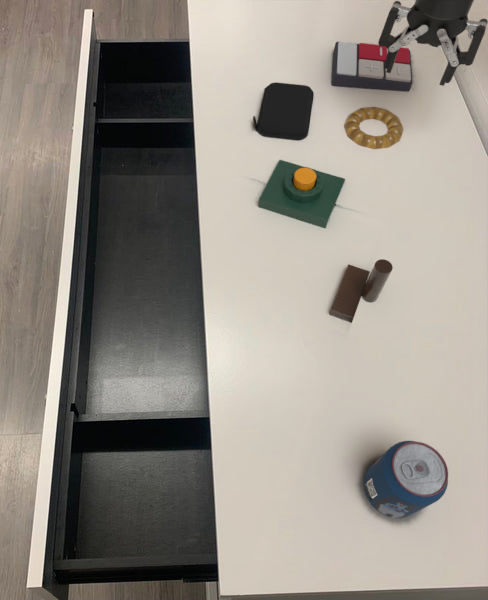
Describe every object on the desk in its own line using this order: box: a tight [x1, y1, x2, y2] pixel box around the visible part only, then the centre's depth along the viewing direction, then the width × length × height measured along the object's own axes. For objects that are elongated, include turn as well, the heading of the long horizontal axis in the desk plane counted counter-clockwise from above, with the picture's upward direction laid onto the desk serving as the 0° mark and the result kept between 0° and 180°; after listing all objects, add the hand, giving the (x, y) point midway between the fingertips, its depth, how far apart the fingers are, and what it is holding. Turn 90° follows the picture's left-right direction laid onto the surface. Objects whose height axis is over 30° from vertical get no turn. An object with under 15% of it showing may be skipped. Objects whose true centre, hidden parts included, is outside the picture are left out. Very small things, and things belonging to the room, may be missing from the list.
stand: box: [328, 258, 394, 324], centre depth 77 cm, size 9×9×10 cm
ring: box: [343, 106, 404, 150], centre depth 98 cm, size 10×10×3 cm
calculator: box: [330, 40, 413, 93], centre depth 106 cm, size 11×4×15 cm
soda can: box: [363, 440, 449, 519], centre depth 62 cm, size 7×7×12 cm
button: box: [293, 167, 316, 191], centre depth 88 cm, size 4×4×2 cm
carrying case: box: [252, 82, 315, 141], centre depth 101 cm, size 11×3×15 cm
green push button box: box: [257, 159, 346, 229], centre depth 90 cm, size 12×10×4 cm
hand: (415, 76), depth 86 cm, fingers open, 8 cm apart
